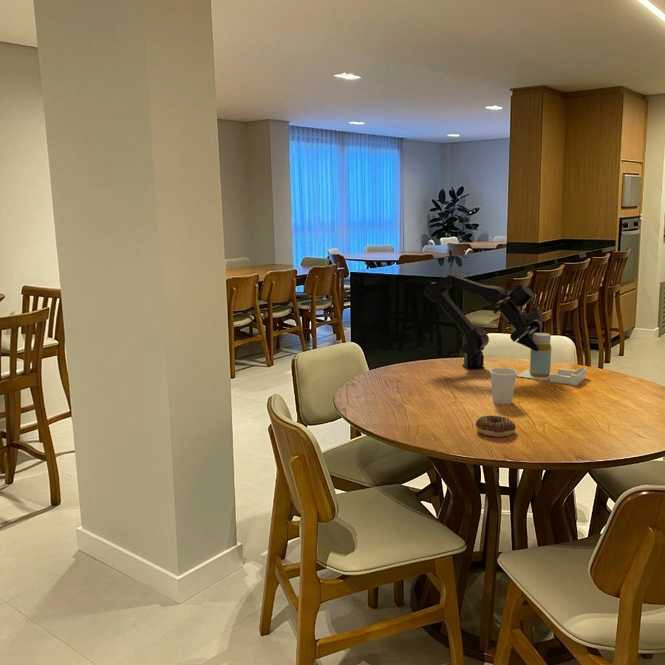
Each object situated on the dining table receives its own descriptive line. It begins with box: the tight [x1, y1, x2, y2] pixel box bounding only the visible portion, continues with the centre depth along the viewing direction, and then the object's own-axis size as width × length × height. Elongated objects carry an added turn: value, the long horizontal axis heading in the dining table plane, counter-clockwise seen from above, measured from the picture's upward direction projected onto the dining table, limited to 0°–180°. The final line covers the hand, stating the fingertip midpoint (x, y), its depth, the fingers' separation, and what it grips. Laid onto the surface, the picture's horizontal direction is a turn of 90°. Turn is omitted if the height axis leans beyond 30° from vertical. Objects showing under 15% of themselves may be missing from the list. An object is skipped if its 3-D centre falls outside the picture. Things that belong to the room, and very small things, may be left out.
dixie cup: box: [489, 367, 518, 405], centre depth 206 cm, size 8×8×10 cm
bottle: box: [529, 332, 552, 377], centre depth 236 cm, size 7×7×15 cm
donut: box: [475, 415, 517, 438], centre depth 179 cm, size 11×11×4 cm
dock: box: [549, 367, 587, 386], centre depth 232 cm, size 9×12×4 cm
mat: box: [516, 369, 557, 382], centre depth 238 cm, size 11×11×1 cm
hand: (542, 348), depth 236 cm, fingers open, 9 cm apart
